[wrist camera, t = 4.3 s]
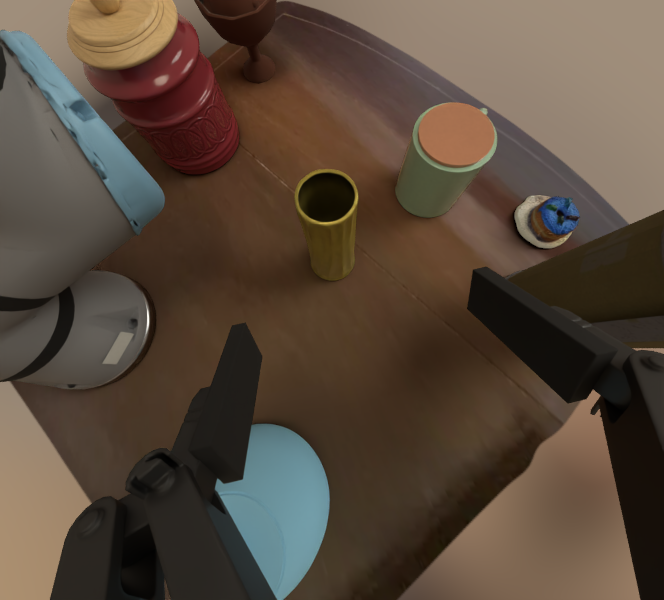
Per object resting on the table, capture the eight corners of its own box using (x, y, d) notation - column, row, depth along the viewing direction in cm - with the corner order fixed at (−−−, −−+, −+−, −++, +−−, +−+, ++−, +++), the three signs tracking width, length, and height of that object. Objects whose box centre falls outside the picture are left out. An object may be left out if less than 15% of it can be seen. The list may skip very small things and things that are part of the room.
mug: (382, 192, 35) (396, 137, 26) (433, 138, 37) (464, 68, 28) (432, 229, 34) (466, 185, 25) (483, 172, 35) (533, 109, 26)
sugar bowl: (292, 395, 30) (262, 422, 19) (354, 517, 27) (363, 636, 16) (183, 460, 29) (82, 531, 18) (236, 594, 26) (156, 780, 15)
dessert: (570, 257, 31) (578, 226, 27) (508, 254, 36) (507, 228, 32) (580, 209, 33) (590, 173, 29) (520, 212, 38) (521, 181, 33)
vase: (308, 242, 34) (285, 168, 20) (351, 236, 34) (358, 158, 20) (313, 283, 33) (291, 235, 19) (357, 278, 33) (369, 225, 19)
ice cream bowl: (279, 101, 39) (242, -47, 25) (217, 87, 40) (146, -62, 26) (300, 52, 41) (277, -113, 26) (240, 40, 42) (186, -124, 28)
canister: (528, 254, 32) (811, 112, 13) (594, 311, 31) (1041, 245, 11) (473, 308, 31) (691, 241, 12) (539, 370, 30) (925, 413, 10)
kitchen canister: (258, 130, 38) (189, -50, 21) (206, 191, 36) (83, 49, 19) (197, 95, 40) (88, -96, 23) (144, 152, 38) (-18, -10, 21)
